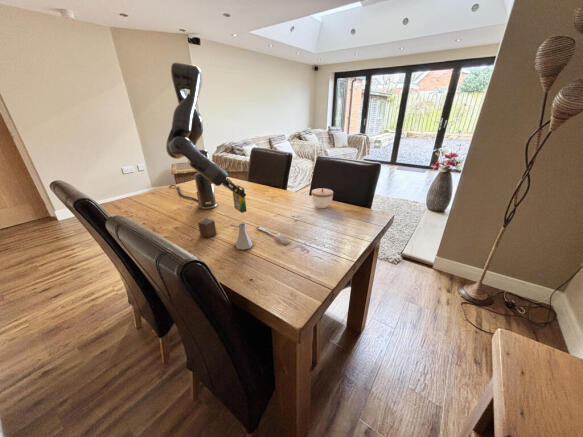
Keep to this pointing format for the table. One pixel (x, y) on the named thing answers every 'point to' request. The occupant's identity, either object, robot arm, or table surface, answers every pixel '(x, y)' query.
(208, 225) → the walnut block
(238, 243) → the flask
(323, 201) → the lidded bowl
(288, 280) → the table surface
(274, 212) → the table surface
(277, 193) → the table surface
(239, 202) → the crayon box
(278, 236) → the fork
